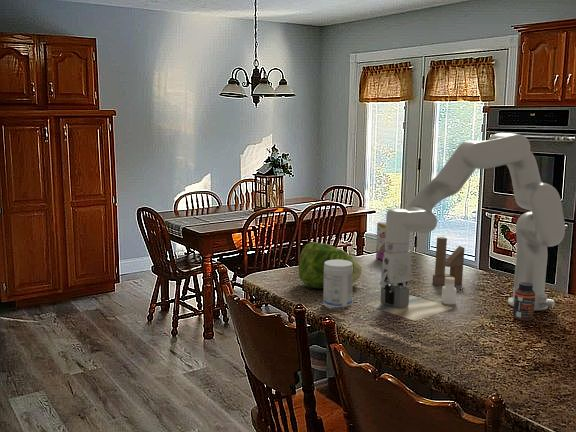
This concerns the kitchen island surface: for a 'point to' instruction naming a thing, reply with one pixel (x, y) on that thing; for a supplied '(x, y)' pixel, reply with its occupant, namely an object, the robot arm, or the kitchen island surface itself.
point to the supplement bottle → (524, 302)
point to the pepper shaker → (449, 291)
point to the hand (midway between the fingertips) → (394, 301)
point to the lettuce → (321, 263)
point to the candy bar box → (381, 240)
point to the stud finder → (397, 296)
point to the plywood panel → (413, 308)
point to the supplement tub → (338, 283)
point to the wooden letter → (448, 263)
